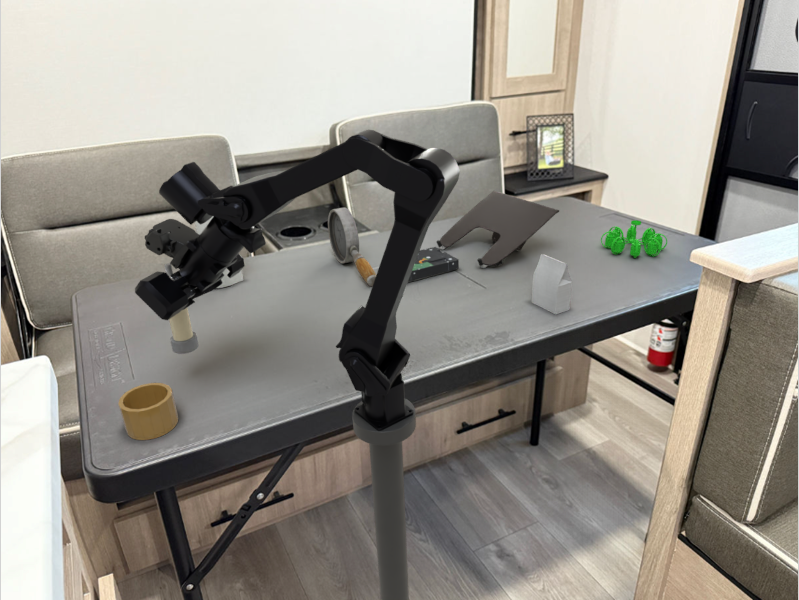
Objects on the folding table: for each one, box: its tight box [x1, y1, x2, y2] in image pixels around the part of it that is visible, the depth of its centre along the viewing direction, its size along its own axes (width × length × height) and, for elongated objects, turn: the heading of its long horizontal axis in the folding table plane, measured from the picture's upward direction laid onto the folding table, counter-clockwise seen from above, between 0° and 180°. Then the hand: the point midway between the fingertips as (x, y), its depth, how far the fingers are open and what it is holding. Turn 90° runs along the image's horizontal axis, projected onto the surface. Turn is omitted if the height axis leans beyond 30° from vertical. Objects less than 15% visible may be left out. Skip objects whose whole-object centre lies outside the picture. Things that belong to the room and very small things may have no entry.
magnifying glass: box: [327, 207, 377, 287], centre depth 139 cm, size 13×3×25 cm
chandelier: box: [600, 220, 668, 259], centre depth 144 cm, size 15×15×7 cm
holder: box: [117, 382, 179, 441], centre depth 88 cm, size 7×7×5 cm
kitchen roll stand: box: [163, 262, 200, 355], centre depth 93 cm, size 4×4×14 cm
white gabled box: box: [531, 253, 573, 315], centre depth 118 cm, size 4×7×10 cm, turn 31°
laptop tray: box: [436, 190, 560, 269], centre depth 148 cm, size 23×23×9 cm
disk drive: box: [408, 246, 460, 283], centre depth 139 cm, size 10×3×15 cm
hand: (169, 307), depth 94 cm, fingers closed on kitchen roll stand, 3 cm apart
